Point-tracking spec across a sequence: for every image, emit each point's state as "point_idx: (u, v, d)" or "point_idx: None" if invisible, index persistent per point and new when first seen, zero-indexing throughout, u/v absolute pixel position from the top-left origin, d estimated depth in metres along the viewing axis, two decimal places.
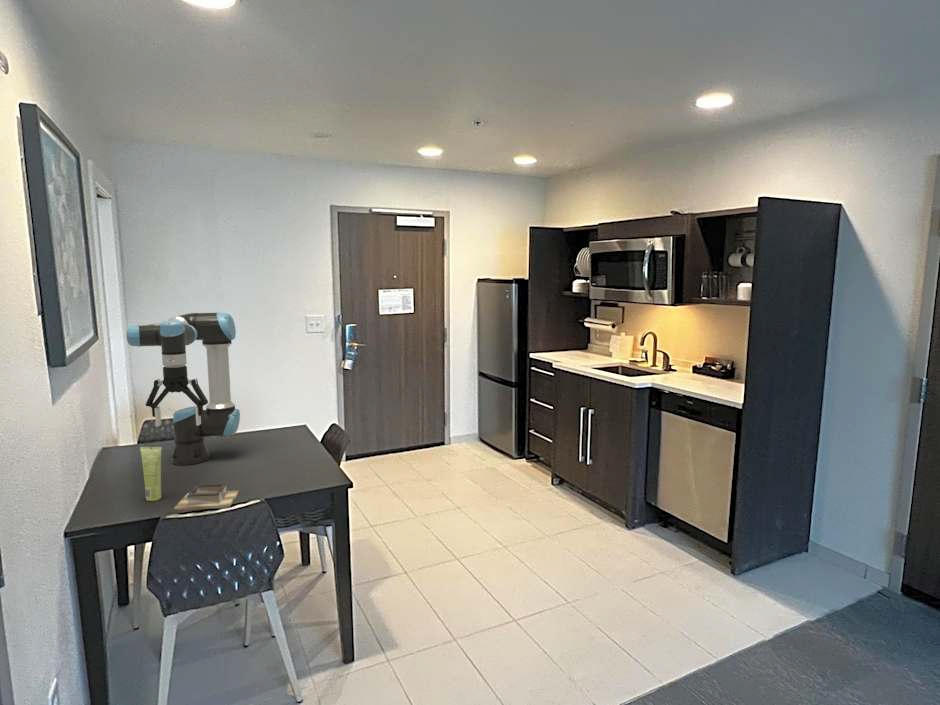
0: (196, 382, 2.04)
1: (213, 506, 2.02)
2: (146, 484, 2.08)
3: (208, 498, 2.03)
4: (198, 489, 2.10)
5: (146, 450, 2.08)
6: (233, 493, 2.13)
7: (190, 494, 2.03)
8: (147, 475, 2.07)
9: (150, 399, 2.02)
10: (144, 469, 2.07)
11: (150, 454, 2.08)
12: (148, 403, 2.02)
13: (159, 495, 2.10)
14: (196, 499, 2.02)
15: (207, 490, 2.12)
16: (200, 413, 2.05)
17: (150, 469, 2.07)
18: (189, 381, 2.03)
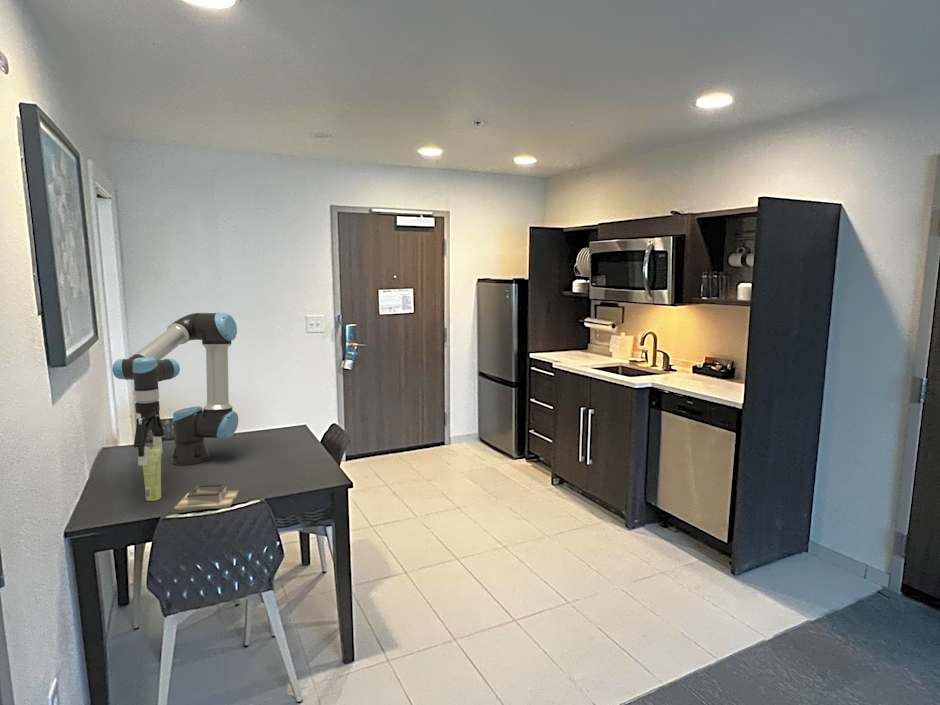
0: (140, 422, 2.00)
1: (213, 506, 2.02)
2: (146, 484, 2.08)
3: (208, 498, 2.03)
4: (198, 489, 2.10)
5: None
6: (233, 493, 2.13)
7: (190, 494, 2.03)
8: (147, 475, 2.07)
9: None
10: (144, 469, 2.07)
11: (150, 454, 2.08)
12: None
13: (159, 495, 2.10)
14: (196, 499, 2.02)
15: (207, 490, 2.12)
16: None
17: (150, 469, 2.07)
18: None
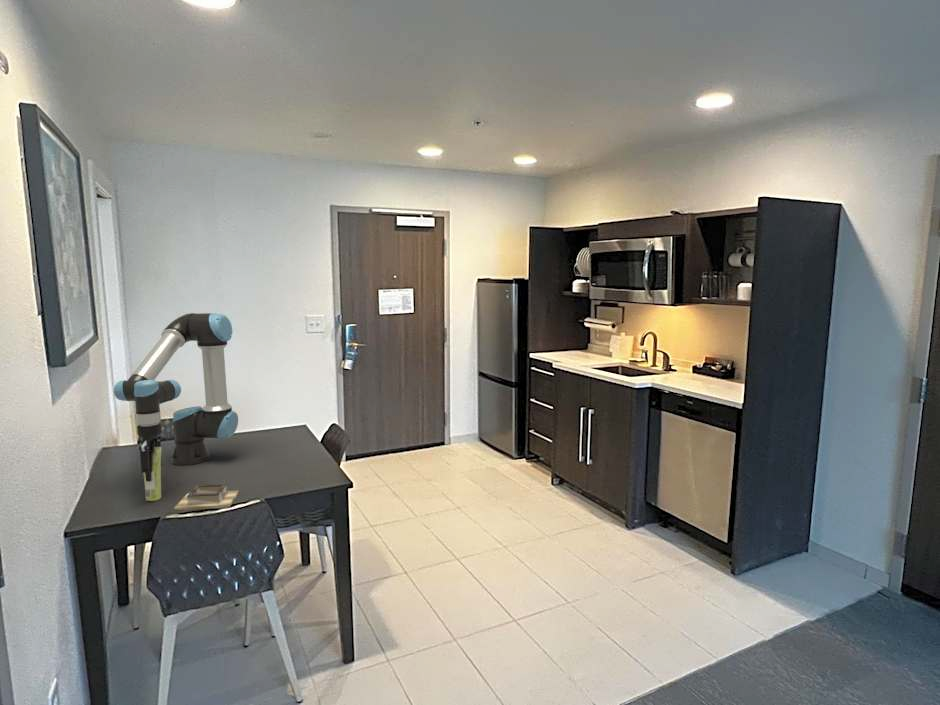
0: (143, 450, 2.02)
1: (213, 506, 2.02)
2: None
3: (208, 498, 2.03)
4: (198, 489, 2.10)
5: None
6: (233, 493, 2.13)
7: (190, 494, 2.03)
8: None
9: None
10: None
11: None
12: None
13: (159, 495, 2.10)
14: (196, 499, 2.02)
15: (207, 490, 2.12)
16: None
17: None
18: None
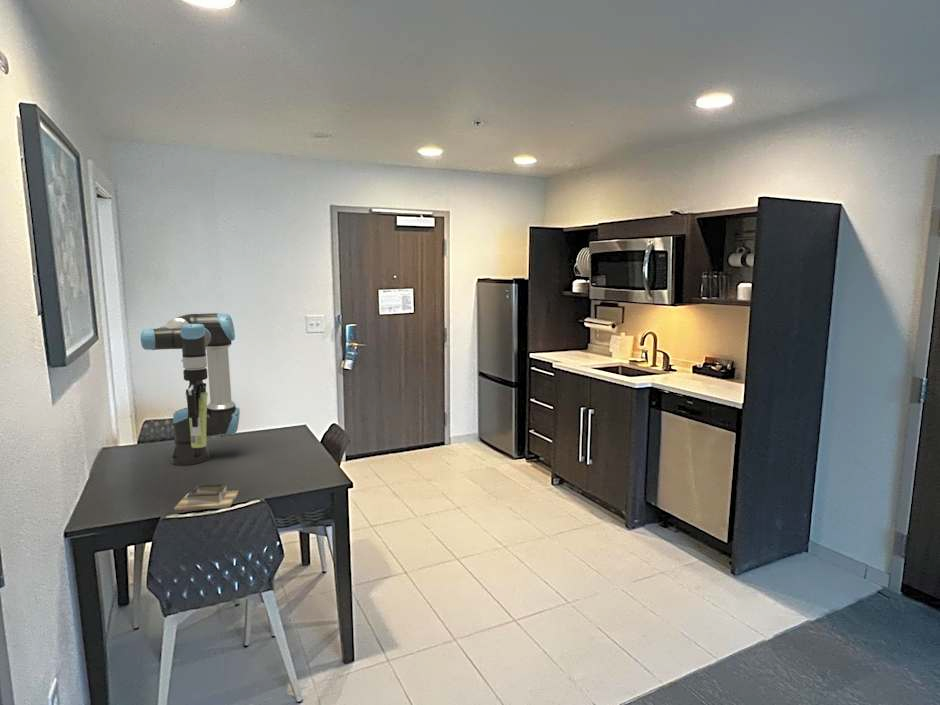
0: (190, 393, 1.97)
1: (213, 506, 2.02)
2: None
3: (208, 498, 2.03)
4: (198, 489, 2.10)
5: None
6: (233, 493, 2.13)
7: (190, 494, 2.03)
8: None
9: None
10: None
11: None
12: None
13: (205, 442, 2.05)
14: (196, 499, 2.02)
15: (207, 490, 2.12)
16: None
17: None
18: None
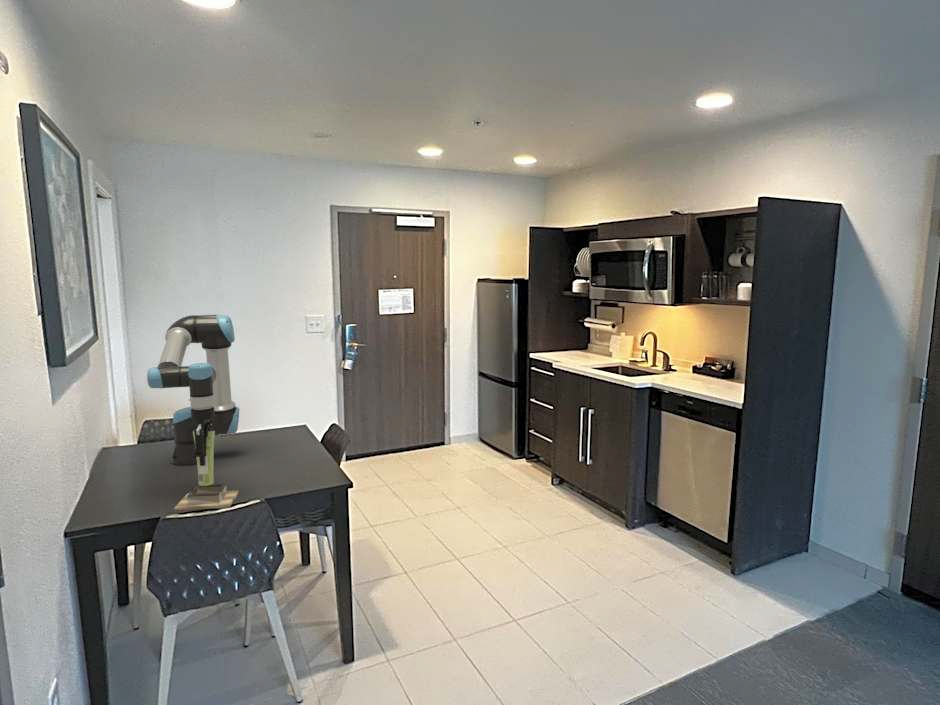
0: (198, 433, 1.99)
1: (213, 506, 2.02)
2: None
3: (208, 498, 2.03)
4: (198, 489, 2.10)
5: None
6: (233, 493, 2.13)
7: (190, 494, 2.03)
8: None
9: None
10: None
11: None
12: None
13: (212, 480, 2.07)
14: (196, 499, 2.02)
15: (207, 490, 2.12)
16: None
17: None
18: None
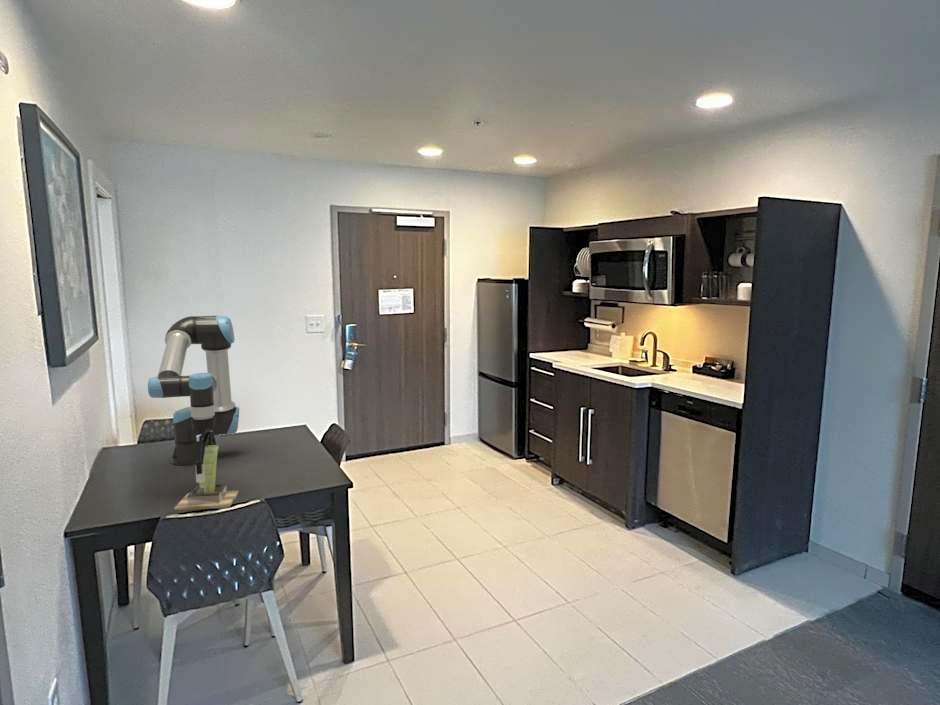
0: (198, 439, 1.98)
1: (213, 506, 2.02)
2: (201, 483, 2.05)
3: (208, 498, 2.03)
4: (198, 489, 2.10)
5: None
6: (233, 493, 2.13)
7: (190, 494, 2.03)
8: None
9: None
10: None
11: (206, 453, 2.06)
12: None
13: None
14: (196, 499, 2.02)
15: None
16: None
17: (206, 467, 2.05)
18: None
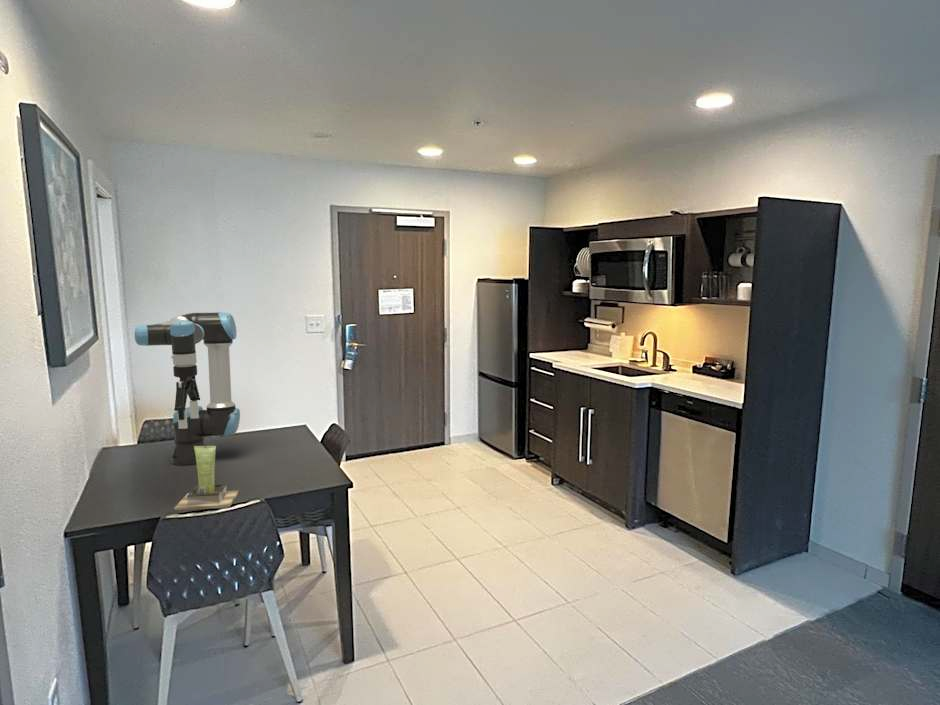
0: (180, 385, 2.00)
1: (213, 506, 2.02)
2: (200, 483, 2.05)
3: (208, 498, 2.03)
4: (198, 489, 2.10)
5: (200, 449, 2.05)
6: (233, 493, 2.13)
7: (190, 494, 2.03)
8: (201, 475, 2.05)
9: None
10: (198, 468, 2.05)
11: (204, 454, 2.05)
12: None
13: None
14: (196, 499, 2.02)
15: None
16: None
17: (205, 468, 2.05)
18: None
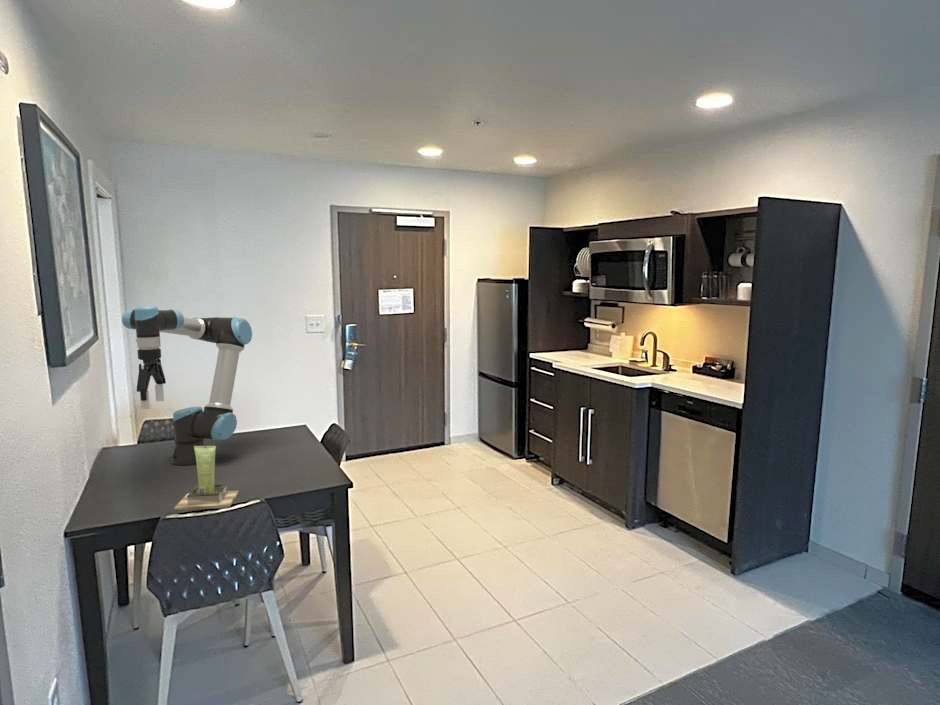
0: (142, 367, 2.07)
1: (213, 506, 2.02)
2: (200, 483, 2.05)
3: (208, 498, 2.03)
4: (198, 489, 2.10)
5: (200, 449, 2.06)
6: (233, 493, 2.13)
7: (190, 494, 2.03)
8: (201, 475, 2.05)
9: None
10: (198, 468, 2.05)
11: (204, 453, 2.05)
12: None
13: None
14: (196, 499, 2.02)
15: None
16: None
17: (205, 468, 2.05)
18: None
